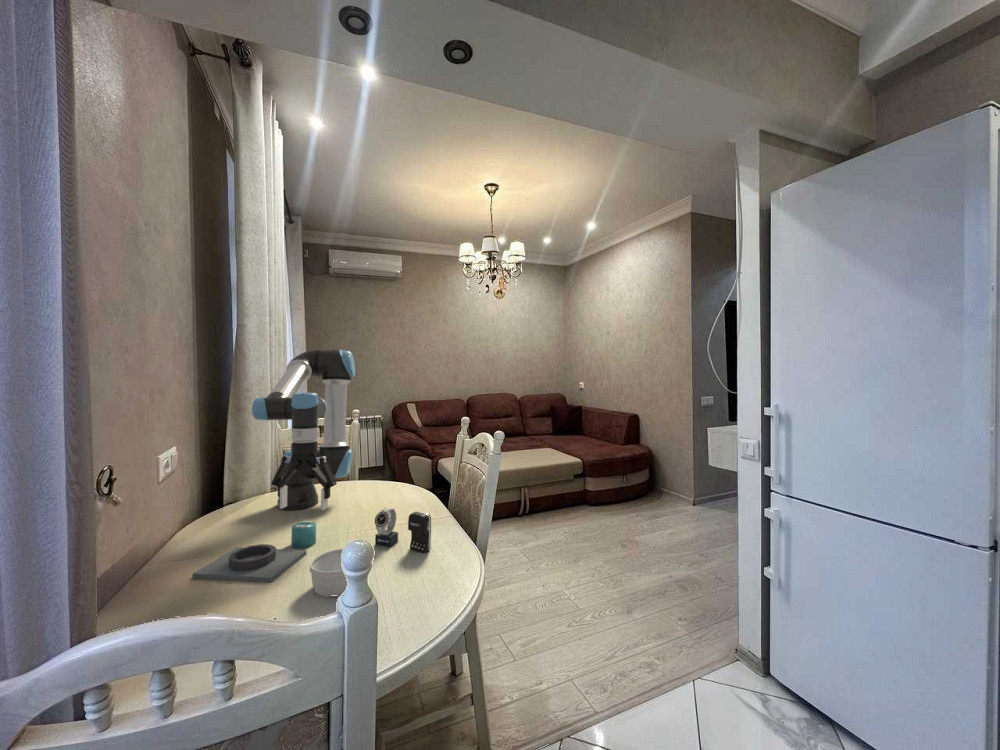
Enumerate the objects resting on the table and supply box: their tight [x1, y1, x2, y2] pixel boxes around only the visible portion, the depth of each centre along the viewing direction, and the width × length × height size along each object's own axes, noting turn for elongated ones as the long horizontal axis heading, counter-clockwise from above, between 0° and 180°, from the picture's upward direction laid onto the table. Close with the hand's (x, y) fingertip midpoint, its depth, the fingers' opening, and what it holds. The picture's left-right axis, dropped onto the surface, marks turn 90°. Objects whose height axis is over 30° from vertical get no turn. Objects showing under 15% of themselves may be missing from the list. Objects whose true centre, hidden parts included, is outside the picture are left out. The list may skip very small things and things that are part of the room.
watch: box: [374, 507, 399, 548], centre depth 127 cm, size 6×8×11 cm
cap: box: [290, 520, 317, 550], centre depth 126 cm, size 7×7×7 cm
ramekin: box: [309, 548, 347, 597], centre depth 102 cm, size 13×13×7 cm
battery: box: [407, 510, 432, 554], centre depth 123 cm, size 7×4×11 cm, turn 60°
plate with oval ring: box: [191, 543, 307, 583], centre depth 112 cm, size 16×22×4 cm
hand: (303, 508), depth 126 cm, fingers open, 13 cm apart
